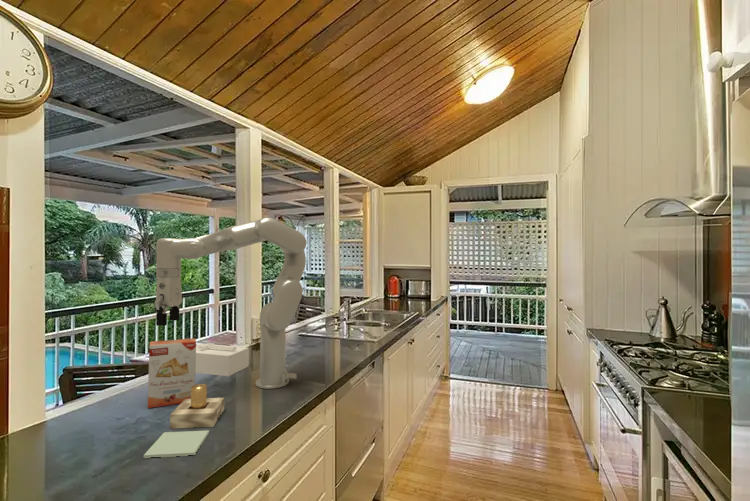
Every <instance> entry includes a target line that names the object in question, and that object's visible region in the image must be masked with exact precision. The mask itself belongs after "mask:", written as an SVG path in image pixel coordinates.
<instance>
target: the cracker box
mask: <svg viewBox="0 0 750 501" xmlns="http://www.w3.org/2000/svg"><path fill="white" fill-rule="evenodd" d="M196 340H197V339H196V337H195V338H181V339H180V338H179V339H170V340H169V339H168V340H167V339H165V340H154V341H150V342H149V346H148V347H149V350H148V352H149V354H148V380H147V381H148V382H147V383H148V384H147V387H148V388H147V389H148V390H147V409H152V408H159V407H167V406H172V405H173V406H174V405H180V404H181V403H182V402H183V401H184V400H185V399H191V387H192V386H193V385H196V373H195V367H196V345H197V341H196Z"/></svg>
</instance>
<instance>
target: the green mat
mask: <svg viewBox="0 0 750 501" xmlns="http://www.w3.org/2000/svg"><path fill="white" fill-rule="evenodd" d="M209 434H210V430H209V429H208V430H191V431H190V430H187V431H166V432H162V434H161V435H160V436H159V438H157V439H156V441H155V442H154V443H153V444H152V445H151V446H150V448H148V449H147V451H146V452H145V453H144V454H143V459H152V458H151V457H161V458H176V456H180V457H189V456H188V455H195V456H196V454H197V453H198V451H199V450H200V448H201V447H200V446H202V445H203V443H204V442H205V440H206V439H207V437H208V436H209ZM198 449H199V450H198ZM196 452H197V453H196Z"/></svg>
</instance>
